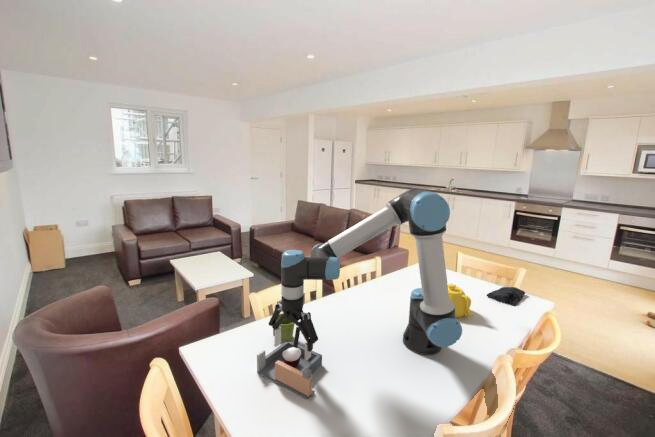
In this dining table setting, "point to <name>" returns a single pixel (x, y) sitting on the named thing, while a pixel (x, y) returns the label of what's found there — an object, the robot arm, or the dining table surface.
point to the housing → (268, 362)
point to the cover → (294, 377)
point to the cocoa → (293, 352)
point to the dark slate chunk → (507, 295)
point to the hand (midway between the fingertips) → (292, 351)
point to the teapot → (459, 301)
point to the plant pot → (286, 329)
